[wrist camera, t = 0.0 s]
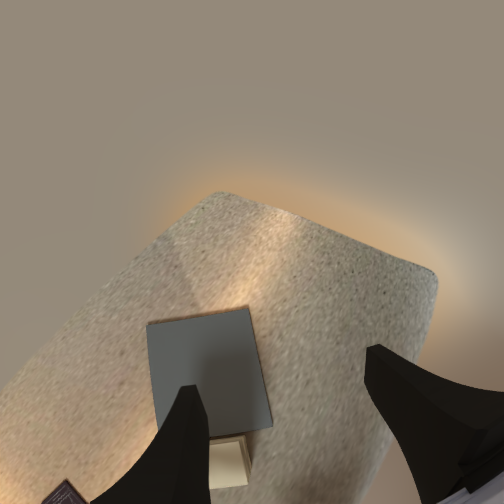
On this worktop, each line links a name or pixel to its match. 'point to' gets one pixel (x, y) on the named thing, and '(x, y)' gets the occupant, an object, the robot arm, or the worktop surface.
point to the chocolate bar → (64, 495)
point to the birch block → (229, 462)
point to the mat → (210, 370)
